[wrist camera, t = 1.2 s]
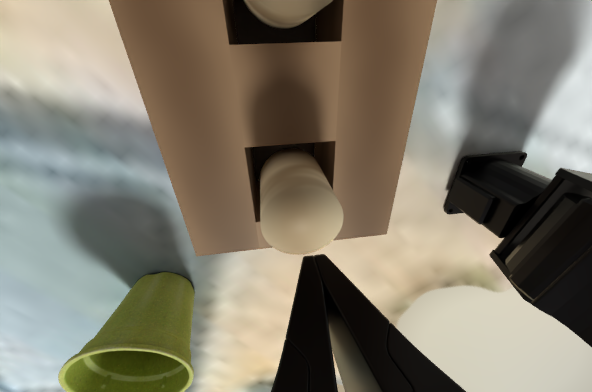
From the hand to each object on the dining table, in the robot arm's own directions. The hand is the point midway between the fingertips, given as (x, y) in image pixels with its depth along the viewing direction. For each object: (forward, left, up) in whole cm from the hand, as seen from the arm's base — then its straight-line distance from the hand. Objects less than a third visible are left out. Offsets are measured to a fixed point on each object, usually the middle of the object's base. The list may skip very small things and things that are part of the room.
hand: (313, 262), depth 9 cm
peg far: (0, 0, -8) cm, 8 cm away
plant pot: (+14, +15, -13) cm, 24 cm away
